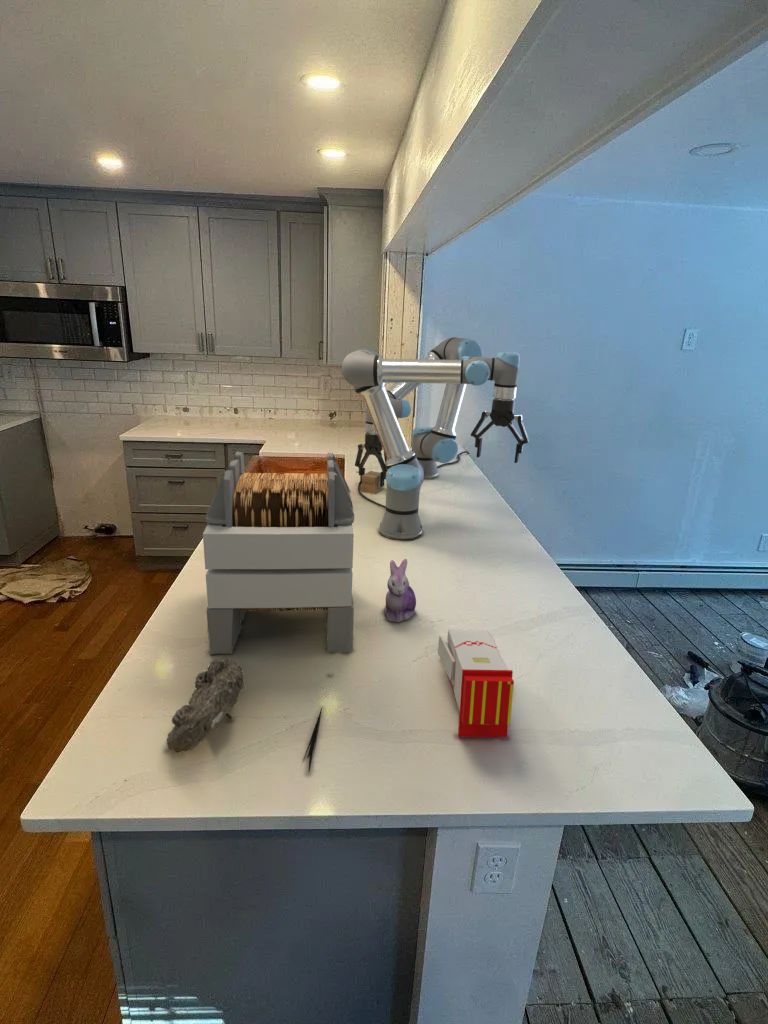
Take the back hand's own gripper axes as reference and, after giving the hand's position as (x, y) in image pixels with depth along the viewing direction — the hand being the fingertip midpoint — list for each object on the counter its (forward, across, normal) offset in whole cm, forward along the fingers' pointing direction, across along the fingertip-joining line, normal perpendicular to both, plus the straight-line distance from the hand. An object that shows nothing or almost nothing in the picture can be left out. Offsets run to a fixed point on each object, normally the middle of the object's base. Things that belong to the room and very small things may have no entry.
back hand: (372, 484), depth 246 cm
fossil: (+3, -35, +145) cm, 149 cm away
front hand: (-23, -57, +18) cm, 64 cm away
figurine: (+3, -52, +92) cm, 106 cm away
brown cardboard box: (+3, 0, 0) cm, 3 cm away
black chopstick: (+3, -54, +137) cm, 147 cm away
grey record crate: (+3, -27, +108) cm, 111 cm away
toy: (+3, -77, +115) cm, 138 cm away
